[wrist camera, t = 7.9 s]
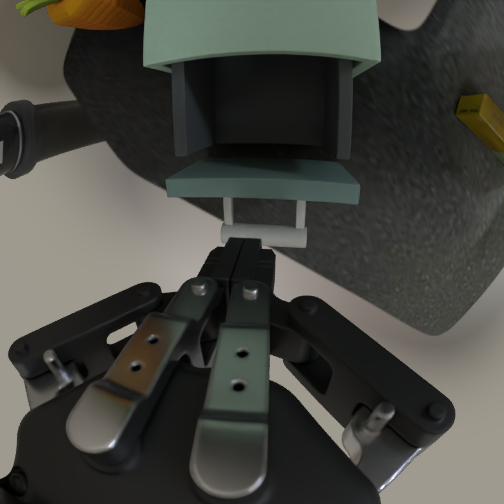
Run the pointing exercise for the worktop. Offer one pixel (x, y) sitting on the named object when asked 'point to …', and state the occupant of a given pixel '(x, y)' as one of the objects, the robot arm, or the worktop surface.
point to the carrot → (89, 13)
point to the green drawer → (264, 134)
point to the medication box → (483, 121)
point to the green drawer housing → (260, 30)
